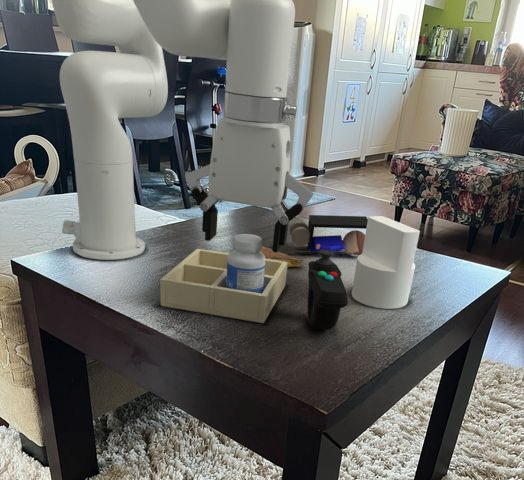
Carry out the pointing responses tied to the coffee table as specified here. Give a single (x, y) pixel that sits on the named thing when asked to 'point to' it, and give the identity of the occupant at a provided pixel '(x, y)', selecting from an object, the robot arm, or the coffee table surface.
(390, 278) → the cylinder with rectangular tab
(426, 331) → the coffee table surface
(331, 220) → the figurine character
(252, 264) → the pill bottle
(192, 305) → the open box
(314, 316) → the controller
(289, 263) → the shard
